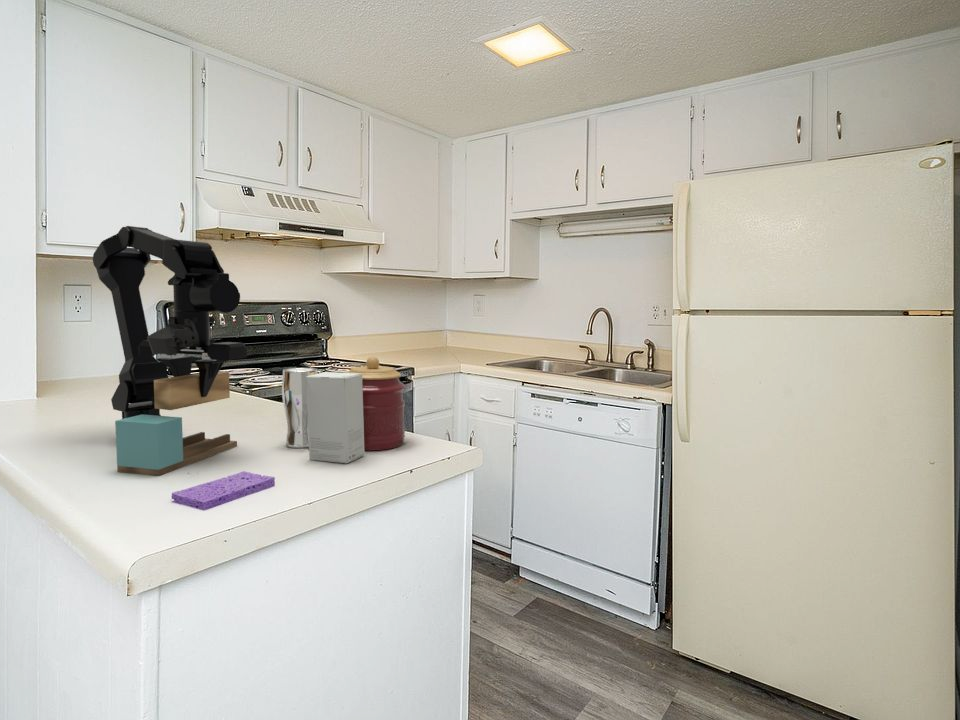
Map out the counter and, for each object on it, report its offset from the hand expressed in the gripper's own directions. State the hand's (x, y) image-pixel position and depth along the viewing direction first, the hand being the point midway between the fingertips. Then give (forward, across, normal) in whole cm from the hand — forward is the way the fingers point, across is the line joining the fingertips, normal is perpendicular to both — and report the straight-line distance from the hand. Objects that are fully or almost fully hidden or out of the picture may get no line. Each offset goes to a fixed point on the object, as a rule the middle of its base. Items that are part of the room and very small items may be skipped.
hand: (194, 396), depth 106 cm
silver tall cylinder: (+11, +15, +11) cm, 22 cm away
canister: (+11, +28, +16) cm, 34 cm away
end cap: (+10, 0, -11) cm, 14 cm away
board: (+11, 0, -4) cm, 11 cm away
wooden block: (+1, 0, 0) cm, 1 cm away
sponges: (+11, +20, -18) cm, 29 cm away
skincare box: (+11, +26, +4) cm, 29 cm away
